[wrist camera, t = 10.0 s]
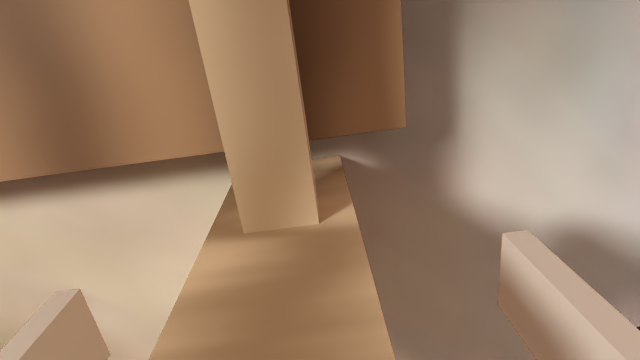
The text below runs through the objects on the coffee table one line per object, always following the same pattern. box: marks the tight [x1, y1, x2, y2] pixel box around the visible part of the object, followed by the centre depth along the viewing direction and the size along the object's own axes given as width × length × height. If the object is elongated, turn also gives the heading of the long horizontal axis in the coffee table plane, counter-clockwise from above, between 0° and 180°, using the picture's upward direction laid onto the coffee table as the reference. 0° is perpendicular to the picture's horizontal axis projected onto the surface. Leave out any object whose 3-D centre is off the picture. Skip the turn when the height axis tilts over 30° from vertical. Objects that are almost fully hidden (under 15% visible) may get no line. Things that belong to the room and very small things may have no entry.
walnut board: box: [0, 0, 406, 182], centre depth 11 cm, size 22×9×3 cm, turn 97°
